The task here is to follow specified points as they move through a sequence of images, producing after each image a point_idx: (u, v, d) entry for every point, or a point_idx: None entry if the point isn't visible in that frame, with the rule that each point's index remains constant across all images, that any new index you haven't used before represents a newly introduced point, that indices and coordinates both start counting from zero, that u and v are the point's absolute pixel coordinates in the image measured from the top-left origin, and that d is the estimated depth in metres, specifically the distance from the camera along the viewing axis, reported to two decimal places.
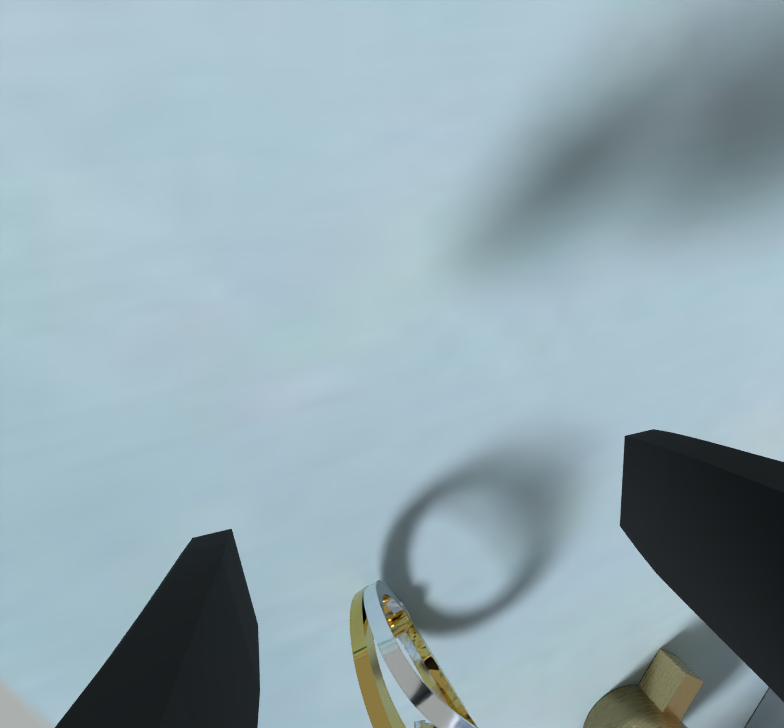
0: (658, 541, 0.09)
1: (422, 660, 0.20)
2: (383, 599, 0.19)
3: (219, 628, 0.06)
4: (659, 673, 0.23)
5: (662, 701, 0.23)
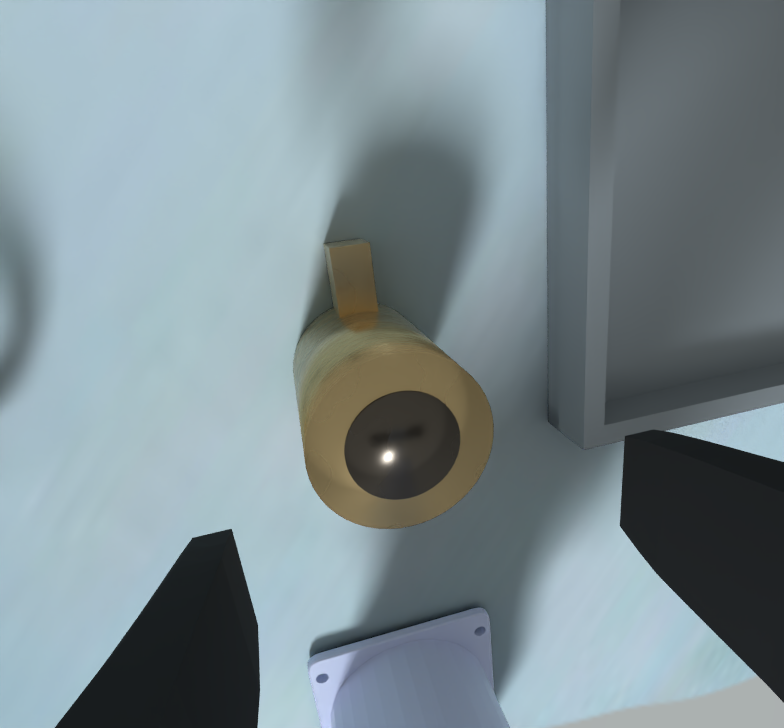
0: (658, 541, 0.09)
1: None
2: None
3: (219, 628, 0.06)
4: (330, 274, 0.15)
5: (336, 305, 0.15)
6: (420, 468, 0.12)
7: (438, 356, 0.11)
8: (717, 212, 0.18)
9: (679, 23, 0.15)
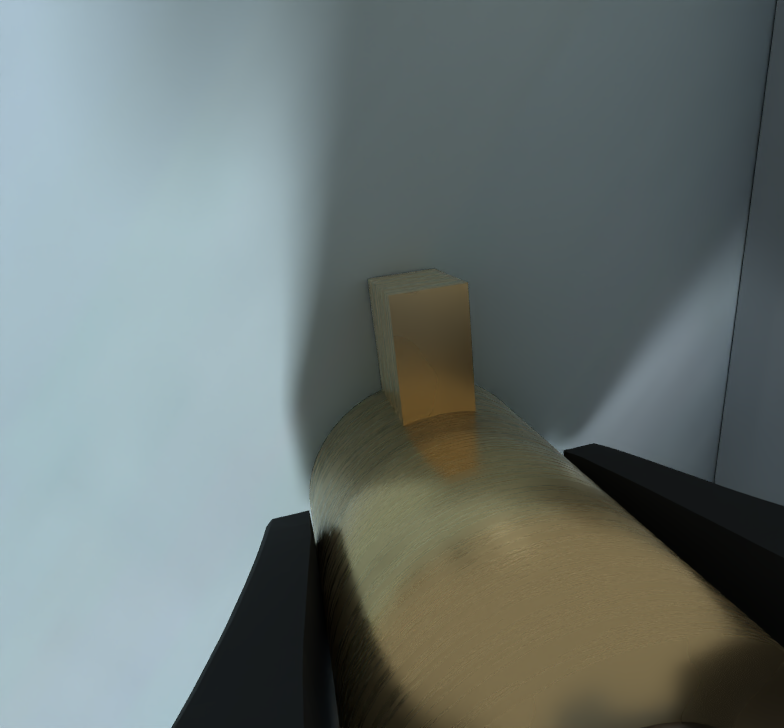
0: None
1: None
2: None
3: (315, 602, 0.06)
4: (381, 338, 0.08)
5: (396, 400, 0.08)
6: None
7: (736, 632, 0.04)
8: None
9: None
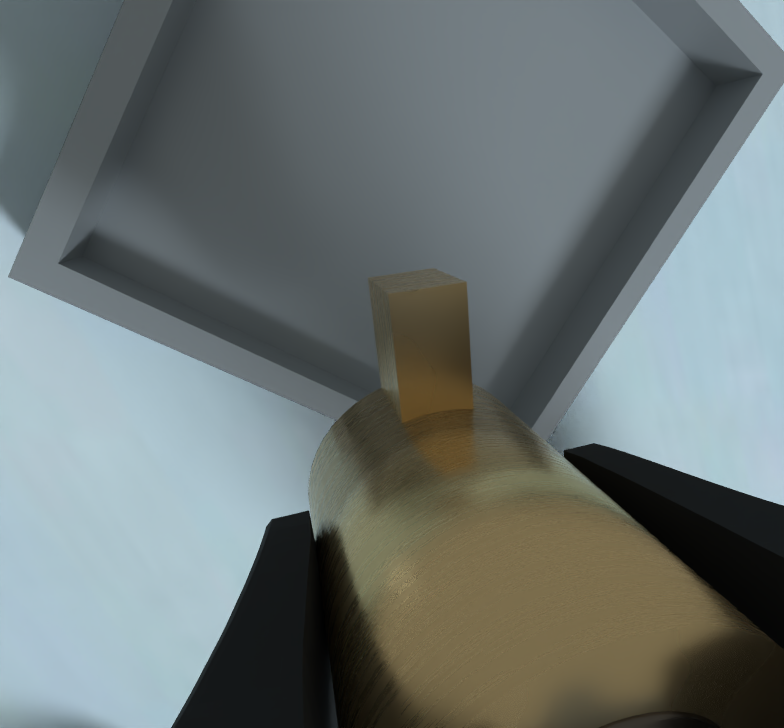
0: None
1: None
2: None
3: (316, 602, 0.06)
4: (380, 336, 0.08)
5: (395, 397, 0.08)
6: None
7: (725, 623, 0.04)
8: (413, 219, 0.15)
9: (190, 177, 0.13)
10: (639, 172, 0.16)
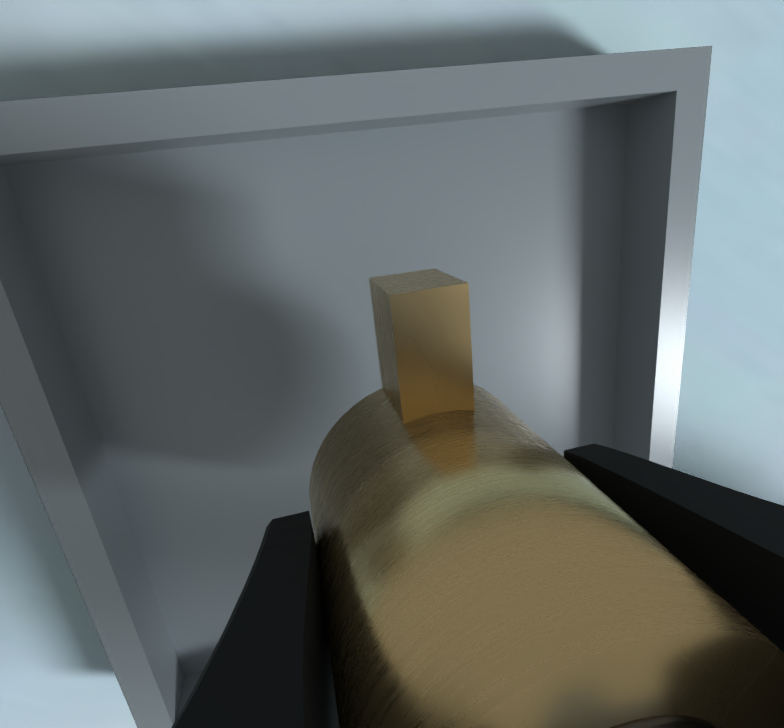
0: None
1: None
2: None
3: (316, 602, 0.06)
4: (381, 336, 0.08)
5: (396, 398, 0.08)
6: None
7: (727, 627, 0.04)
8: None
9: (211, 574, 0.14)
10: (598, 249, 0.13)
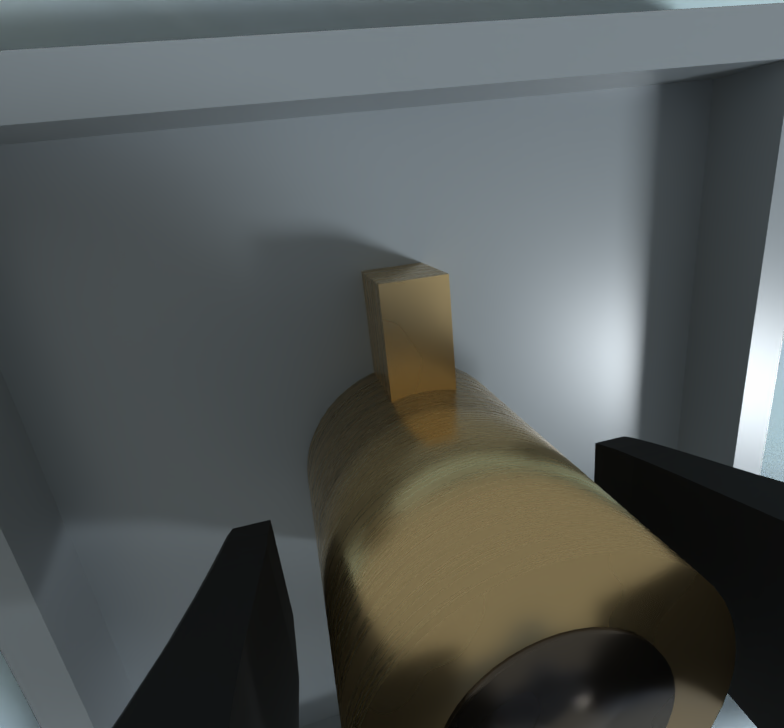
0: None
1: None
2: None
3: (268, 615, 0.06)
4: (372, 324, 0.09)
5: (385, 378, 0.09)
6: None
7: (652, 552, 0.05)
8: None
9: None
10: (668, 258, 0.11)
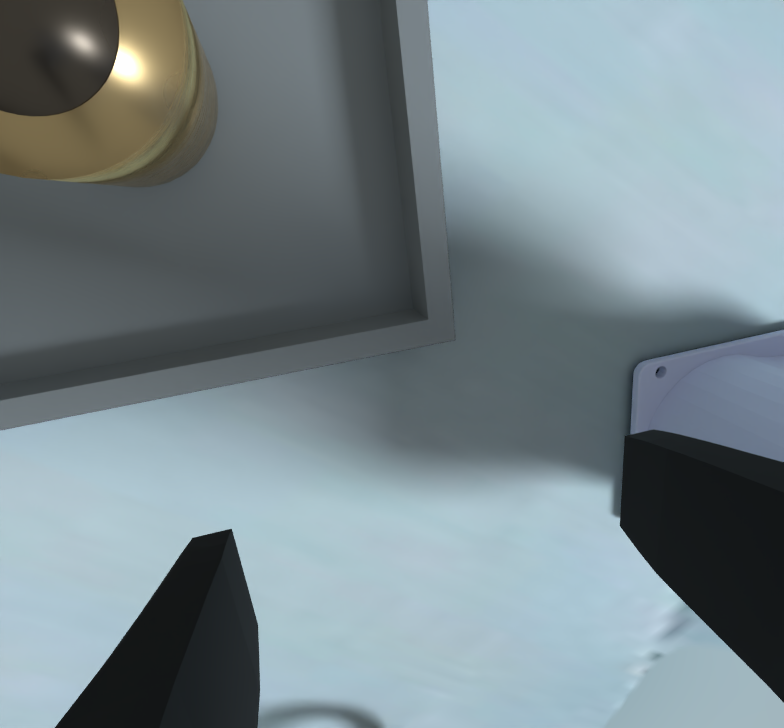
0: (658, 541, 0.09)
1: None
2: None
3: (219, 628, 0.06)
4: None
5: None
6: (50, 56, 0.07)
7: None
8: None
9: None
10: None
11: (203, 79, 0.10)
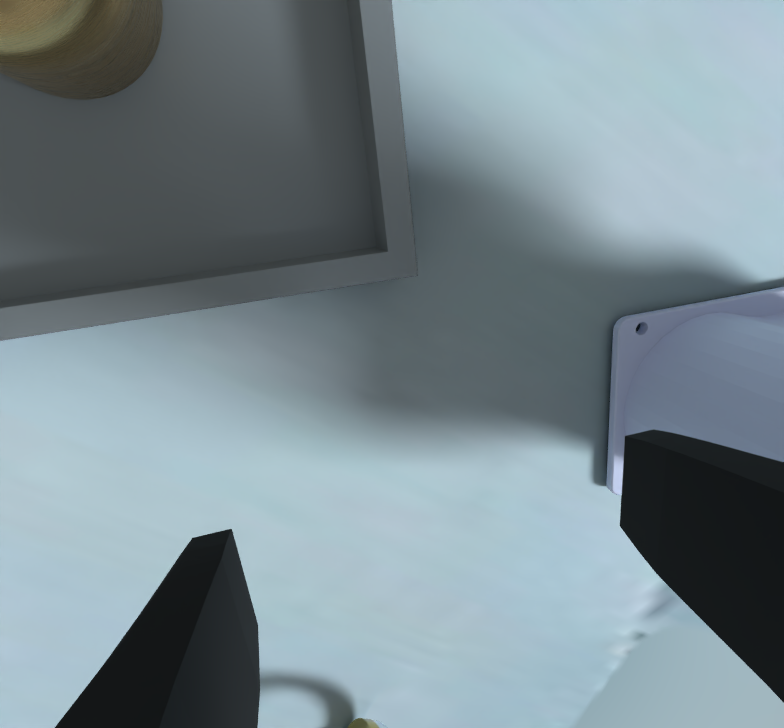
0: (658, 541, 0.09)
1: None
2: None
3: (219, 628, 0.06)
4: None
5: None
6: None
7: None
8: None
9: None
10: None
11: None
